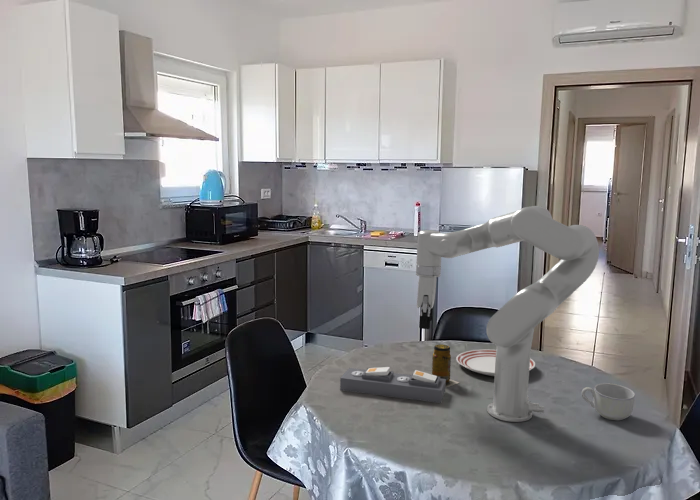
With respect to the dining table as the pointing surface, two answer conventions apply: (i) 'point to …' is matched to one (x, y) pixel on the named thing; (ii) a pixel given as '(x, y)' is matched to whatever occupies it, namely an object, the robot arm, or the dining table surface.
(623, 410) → the teacup
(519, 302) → the robot arm
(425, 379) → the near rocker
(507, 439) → the dining table surface
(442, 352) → the condiment
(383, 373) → the far rocker
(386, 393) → the rocker switch panel
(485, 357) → the dinner plate
